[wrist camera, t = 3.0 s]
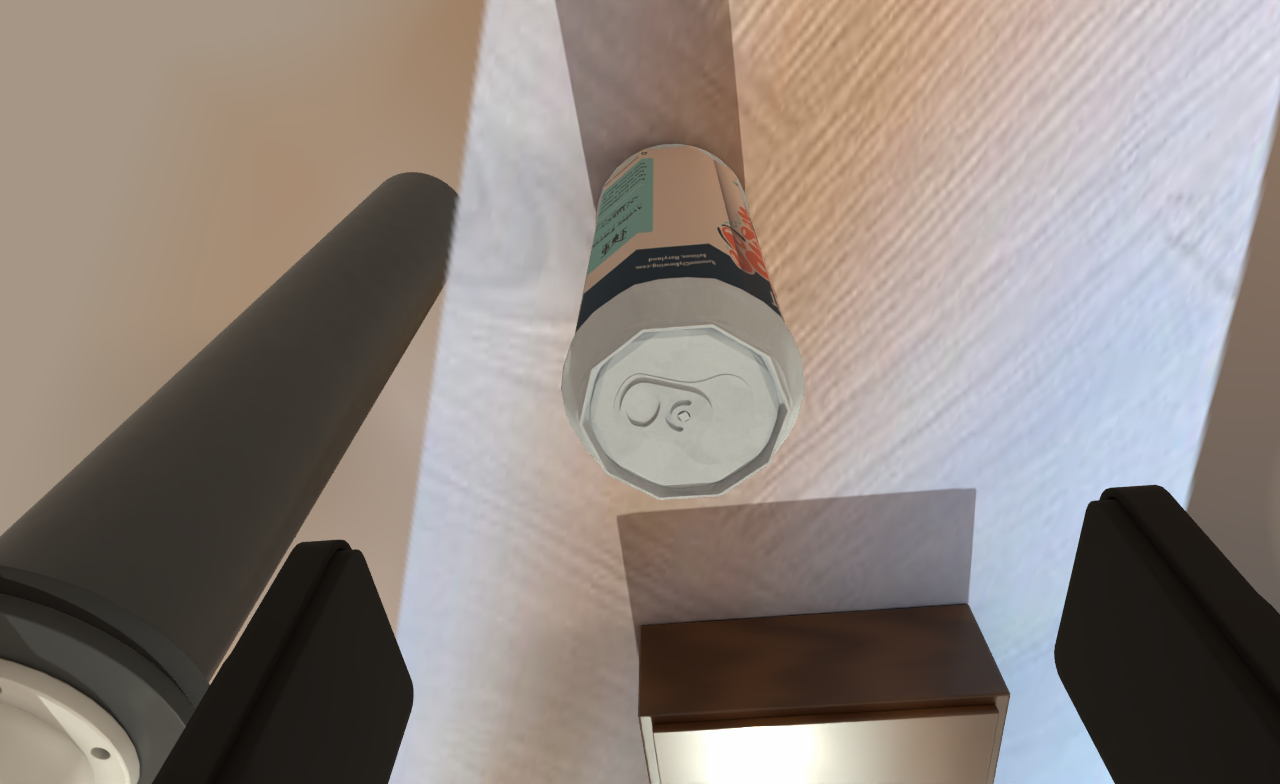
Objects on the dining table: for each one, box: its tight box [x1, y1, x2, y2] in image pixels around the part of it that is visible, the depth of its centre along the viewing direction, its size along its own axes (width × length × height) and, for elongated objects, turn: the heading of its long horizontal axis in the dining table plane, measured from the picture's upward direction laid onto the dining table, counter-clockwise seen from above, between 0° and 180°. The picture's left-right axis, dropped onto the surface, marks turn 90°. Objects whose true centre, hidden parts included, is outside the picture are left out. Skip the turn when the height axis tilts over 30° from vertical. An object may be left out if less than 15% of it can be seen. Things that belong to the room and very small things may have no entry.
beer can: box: [561, 144, 804, 500], centre depth 20 cm, size 5×5×12 cm
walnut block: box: [638, 604, 1010, 784], centre depth 35 cm, size 14×14×5 cm
